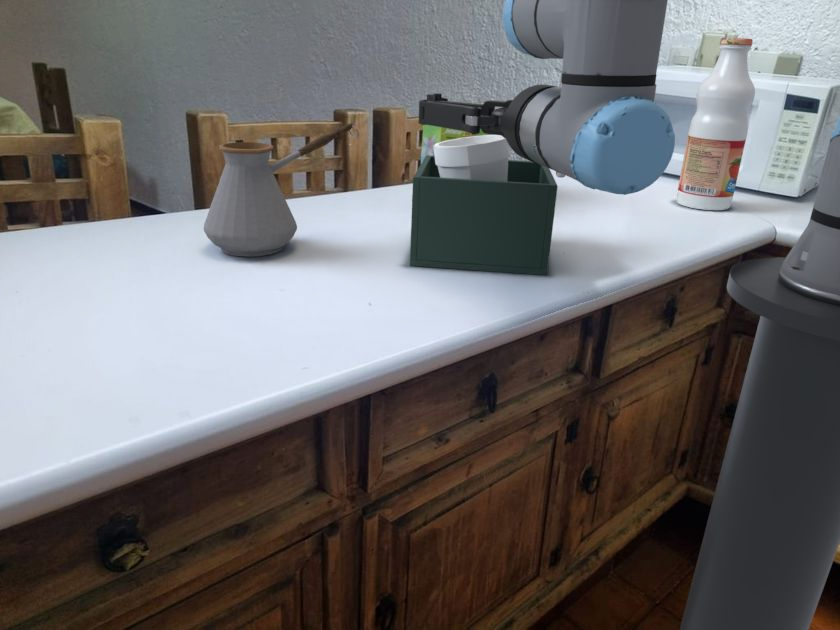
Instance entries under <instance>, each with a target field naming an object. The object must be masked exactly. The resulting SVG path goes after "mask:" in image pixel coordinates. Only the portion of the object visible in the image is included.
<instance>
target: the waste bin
mask: <svg viewBox="0 0 840 630" xmlns="http://www.w3.org/2000/svg"><path fill="white" fill-rule="evenodd" d="M557 195H558V184H557V181H556V180H555V178H554V175H553V173H552V171H551V169H550V168H548V167H545V166H542V165H540V164H537V163H534V162H532V161H529V160H517V159H516V160H515V159H508V177H507V181H490V180H473V179H457V178H440V174H439V170H438V166H437V165H436V164H435V156H429V155H426V157H425V158H424V160H423V162H422V163H421V162H420V165H419V166H418V169H417V170H416V171H415V174H414V175H413V177H412V195H411V196H412V197H411V219H410V220H411V223H410V224H411V225H410V247H409V248H410V250H409V257H410V258H409V266H411V267H424V268H425V267H426V268H436V269H437V268H438V269H439V268H440V269H451V270H469V271H482V272H496V273H510V274H525V275H538V276H547V275H548V270H549V269H548V268H549V261H550V254H551V244H552V238H553V237H552V235H553V230H554V229H553V228H554V221H555V220H554V219H555V210H556V204H557V203H556V202H557Z"/></svg>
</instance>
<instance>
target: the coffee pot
mask: <svg viewBox="0 0 840 630" xmlns="http://www.w3.org/2000/svg"><path fill="white" fill-rule="evenodd" d="M352 129H354V130H355V132H356V136H355V135H353V133H352V132H351V130H352ZM344 133H349V134H350V136H351V137H352V138H354V139H358V138H359V137H360V133H359V130H358V128H357V127H356V126H355V125H354V124H353V123H346V124H343V126H342V127H336V128H335V129H334V131H331V132H329V133H325V134H323V135H320V136H319V137H317V138H315V139H314V140H312V141H311V142H308V143H307V144H306V145H304V146H303V147H301V148H299V149H298V150H297V151H294V152H292V153H290V154H289V155H287V156H285V157H283V158H281V159H279V160H277V161H274V162H273V163H271V164H270V155H271V152H272V151H274V145H273V144H271V143H263V142H251V141H249V142H248V141H242V142H241V141H240V142H239V141H237V142H226V143H221V144H220V145H218V150H220V151H222V154H223V158H224V161H225V165H224V167H223V169H222V173H221V176H220V179H219V181H218V185H217V187H216V190H215V192H214V195H213V198H212V201H211V204H210V207H209V209H208V213H207V215H206V218H205V221H204V223H203V232H204V234H205V236H206V238H208V240H209V241H210V242H211V243H212V244H213V245H214V246H216V247H218V248H220V251H221V252H222V253H225V254H227V255H231V256H236V257H251V258H252V257H263V256H264V257H265V256H269V255H273V254H276V253H279V252H280V251H282V250H283V248H284V246H285V245H287V244H288V243H289V242H290V241H291V240H292V239H293V238H294V236H295V235H296V232H297V229H298V225H297V222H296V219H295V217H294V215H293V213H292V210H291V208H290V207H289V204H288V202H287V200H286V198H285V196H284V194H283V192H282V189H281V187H280V185H279V183H278V181H277V179H276V176H275V174H274V172H276V171H278V170H280V169H281V168H283V167H285V166H286V165H288V164H290V163H292V162H293V161H295V160H297V159H299V158H300V157H304V156H306V155H308V154H310V153H312V152H314V151H316V150H318V149H321V148H322V147H325V146H327V145H328V144H330V143H331V142H332V141H333V140H334V139H336V138H342V136H343V134H344Z"/></svg>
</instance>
